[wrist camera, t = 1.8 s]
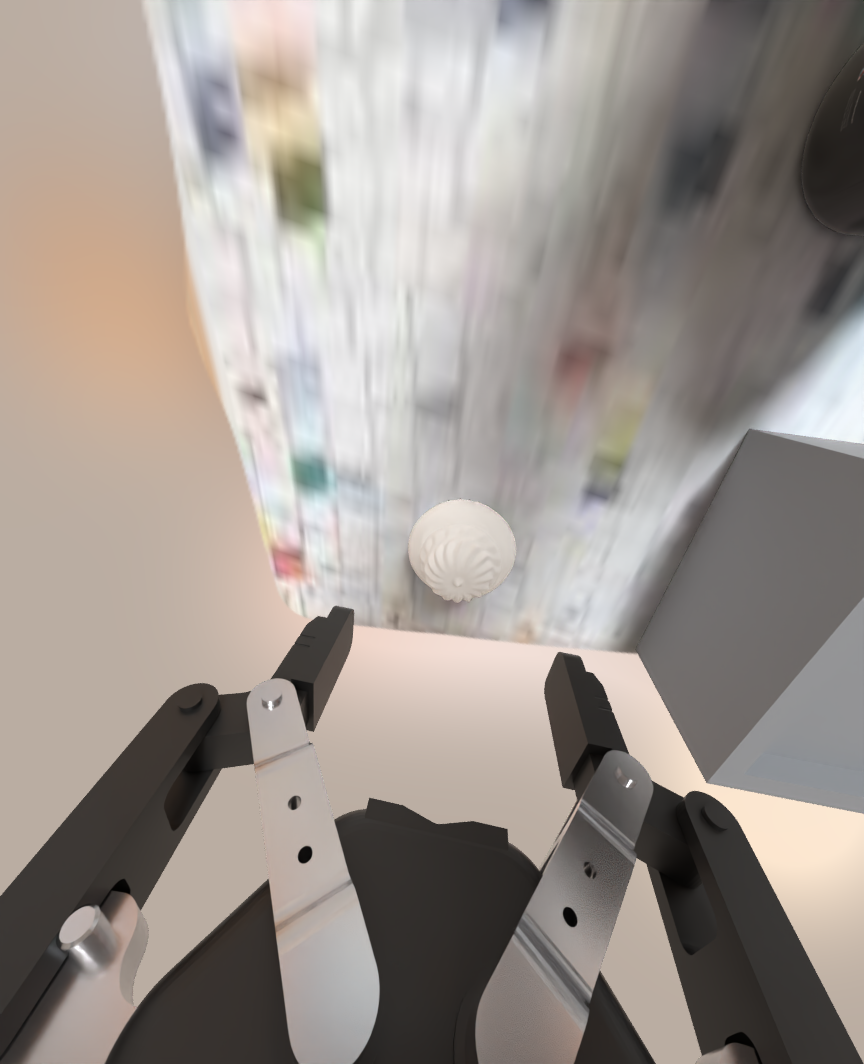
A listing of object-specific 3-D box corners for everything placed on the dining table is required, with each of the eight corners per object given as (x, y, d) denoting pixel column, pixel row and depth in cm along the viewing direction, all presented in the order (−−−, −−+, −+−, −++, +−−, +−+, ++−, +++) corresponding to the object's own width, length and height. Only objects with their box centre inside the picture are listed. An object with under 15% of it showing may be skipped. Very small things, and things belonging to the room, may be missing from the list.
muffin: (408, 488, 22) (380, 537, 16) (505, 473, 21) (515, 520, 15) (428, 569, 25) (410, 639, 19) (515, 560, 24) (527, 631, 18)
